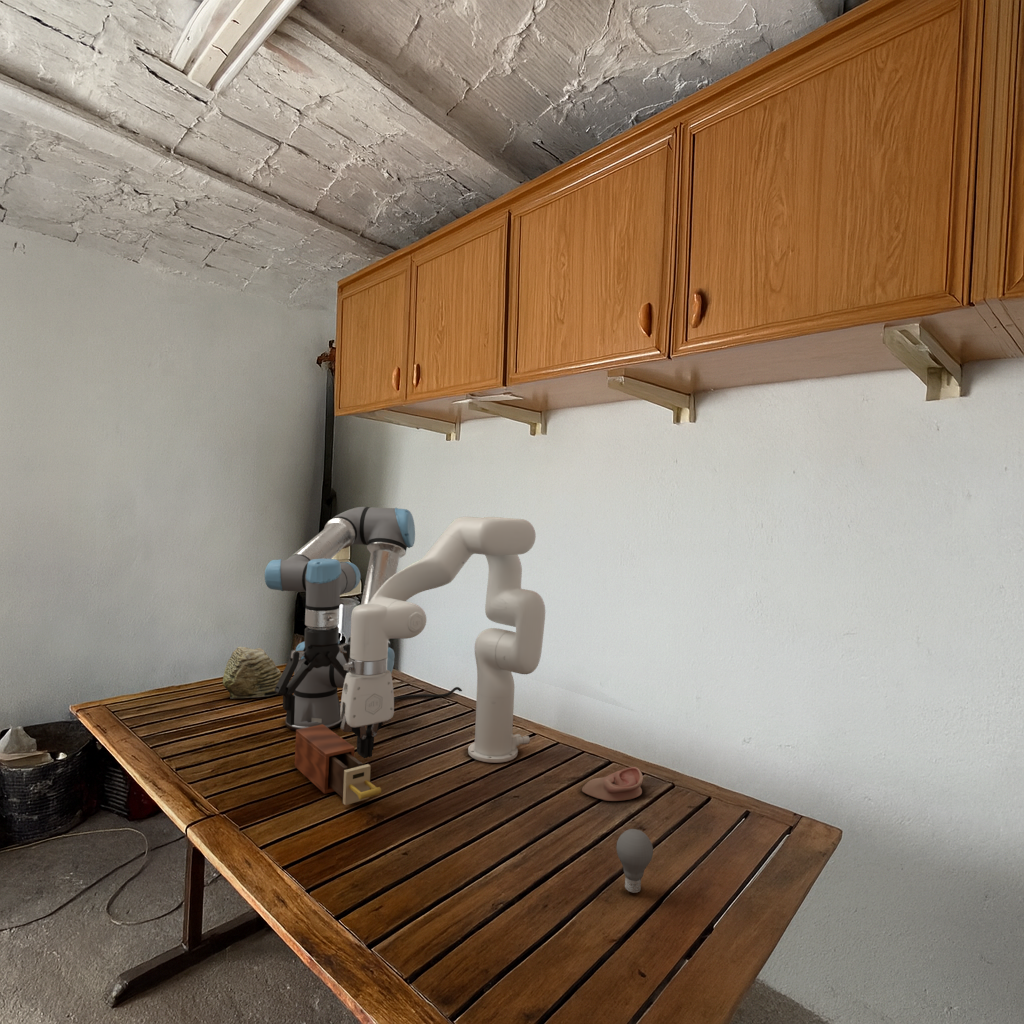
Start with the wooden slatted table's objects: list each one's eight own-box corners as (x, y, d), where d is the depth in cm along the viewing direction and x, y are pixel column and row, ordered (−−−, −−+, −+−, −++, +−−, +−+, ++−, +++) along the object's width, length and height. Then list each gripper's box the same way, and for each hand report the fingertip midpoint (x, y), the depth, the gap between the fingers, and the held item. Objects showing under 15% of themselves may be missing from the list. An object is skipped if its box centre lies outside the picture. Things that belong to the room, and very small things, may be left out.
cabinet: (353, 786, 139) (354, 747, 139) (324, 794, 135) (326, 754, 135) (321, 759, 152) (323, 724, 152) (294, 766, 148) (295, 729, 148)
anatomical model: (581, 779, 138) (585, 758, 149) (580, 797, 138) (585, 775, 149) (643, 787, 135) (643, 766, 147) (642, 806, 136) (642, 783, 147)
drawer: (382, 809, 128) (384, 775, 128) (357, 817, 124) (359, 782, 124) (336, 771, 144) (338, 741, 144) (313, 777, 141) (315, 746, 141)
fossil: (218, 695, 195) (220, 647, 195) (278, 685, 208) (279, 640, 207) (228, 703, 189) (230, 653, 188) (289, 692, 201) (290, 645, 201)
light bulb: (610, 879, 108) (613, 822, 108) (644, 879, 109) (647, 822, 109) (619, 902, 102) (622, 840, 102) (655, 901, 103) (658, 840, 103)
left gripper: (273, 636, 135) (270, 734, 136) (378, 623, 151) (375, 711, 152) (261, 629, 141) (258, 723, 141) (363, 618, 157) (360, 702, 158)
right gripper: (342, 675, 121) (338, 771, 121) (410, 665, 131) (406, 753, 131) (325, 666, 127) (322, 757, 127) (391, 657, 136) (388, 741, 137)
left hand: (319, 717), depth 147 cm, fingers open, 13 cm apart
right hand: (364, 755), depth 129 cm, fingers closed
